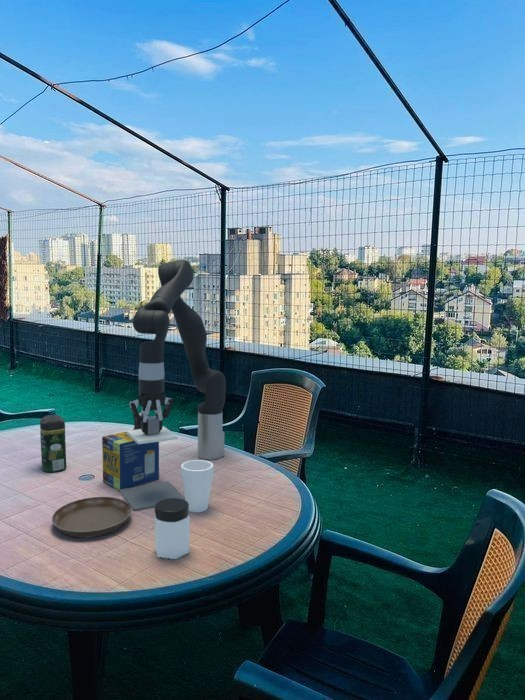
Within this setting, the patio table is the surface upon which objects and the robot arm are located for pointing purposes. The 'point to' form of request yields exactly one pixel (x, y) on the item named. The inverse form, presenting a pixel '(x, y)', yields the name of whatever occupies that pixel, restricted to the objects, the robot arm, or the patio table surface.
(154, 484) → the mat
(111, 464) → the protein box
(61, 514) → the plant saucer
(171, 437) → the lid
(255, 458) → the patio table surface
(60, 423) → the coffee jar
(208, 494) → the foam cup
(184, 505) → the jar
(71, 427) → the patio table surface
